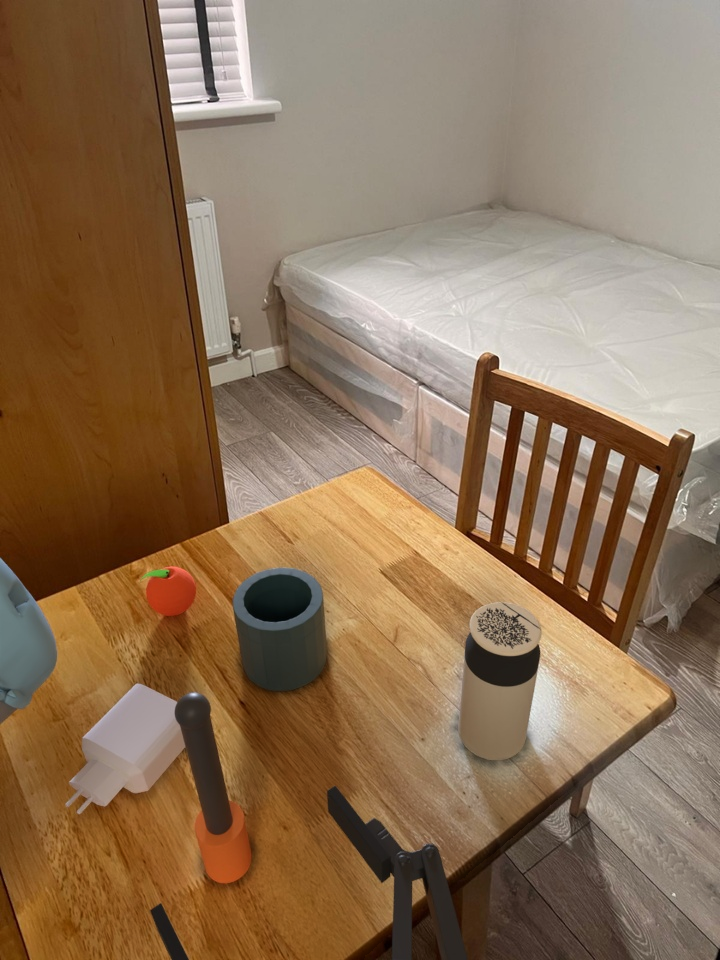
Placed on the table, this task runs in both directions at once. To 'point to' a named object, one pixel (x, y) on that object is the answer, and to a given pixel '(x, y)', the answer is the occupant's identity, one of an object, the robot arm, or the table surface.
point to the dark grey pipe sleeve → (281, 628)
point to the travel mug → (498, 680)
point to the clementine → (170, 590)
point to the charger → (128, 747)
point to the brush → (212, 795)
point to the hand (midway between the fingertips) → (250, 853)
